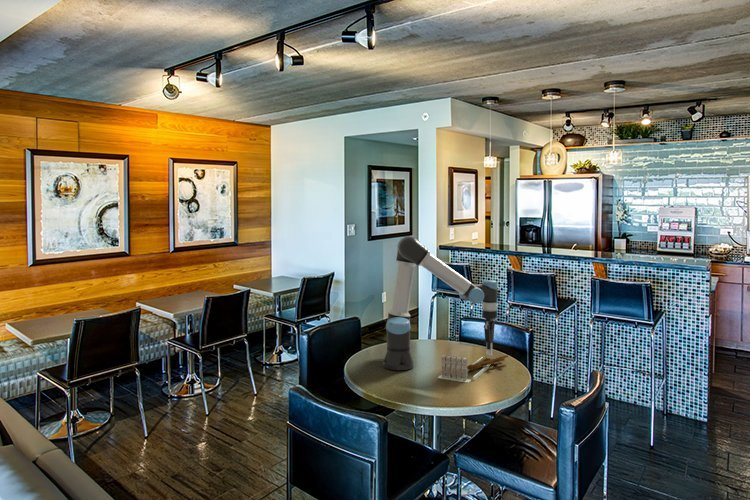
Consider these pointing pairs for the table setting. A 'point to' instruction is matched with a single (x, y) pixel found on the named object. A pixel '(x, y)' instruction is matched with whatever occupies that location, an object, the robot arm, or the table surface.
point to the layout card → (454, 379)
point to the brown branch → (486, 362)
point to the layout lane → (480, 370)
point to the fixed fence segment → (454, 367)
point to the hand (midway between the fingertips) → (489, 354)
